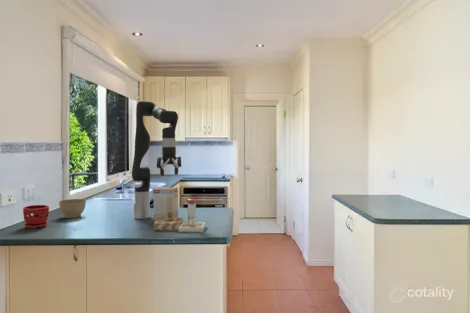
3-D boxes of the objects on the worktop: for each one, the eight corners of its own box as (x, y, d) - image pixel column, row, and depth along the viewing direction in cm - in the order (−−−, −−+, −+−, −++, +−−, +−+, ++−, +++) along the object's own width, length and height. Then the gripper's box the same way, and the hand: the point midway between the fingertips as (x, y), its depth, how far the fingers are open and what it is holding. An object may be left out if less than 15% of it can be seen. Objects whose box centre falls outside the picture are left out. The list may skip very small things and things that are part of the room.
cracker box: (178, 221, 218) (178, 187, 218) (174, 223, 212) (174, 188, 212) (158, 220, 222) (157, 186, 221) (153, 222, 216) (153, 188, 216)
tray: (178, 232, 190) (178, 227, 189) (182, 226, 203) (182, 222, 202) (202, 232, 189) (202, 227, 189) (205, 226, 202) (205, 222, 202)
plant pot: (19, 230, 198) (19, 208, 197) (28, 225, 211) (28, 205, 210) (45, 228, 200) (44, 207, 200) (52, 223, 213) (51, 204, 213)
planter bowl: (68, 220, 222) (68, 203, 222) (54, 217, 231) (54, 201, 231) (91, 216, 235) (91, 200, 235) (77, 213, 244) (76, 198, 244)
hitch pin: (186, 229, 193) (186, 200, 193) (187, 226, 199) (187, 198, 198) (196, 229, 193) (196, 200, 193) (197, 226, 199) (197, 198, 198)
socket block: (153, 230, 194) (153, 223, 194) (159, 224, 208) (159, 218, 208) (179, 230, 194) (178, 223, 194) (183, 224, 208) (183, 217, 208)
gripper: (176, 146, 205) (177, 174, 206) (154, 146, 196) (154, 175, 197) (183, 146, 199) (183, 174, 200) (160, 146, 190) (160, 176, 191)
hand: (169, 175), depth 198 cm, fingers open, 8 cm apart
